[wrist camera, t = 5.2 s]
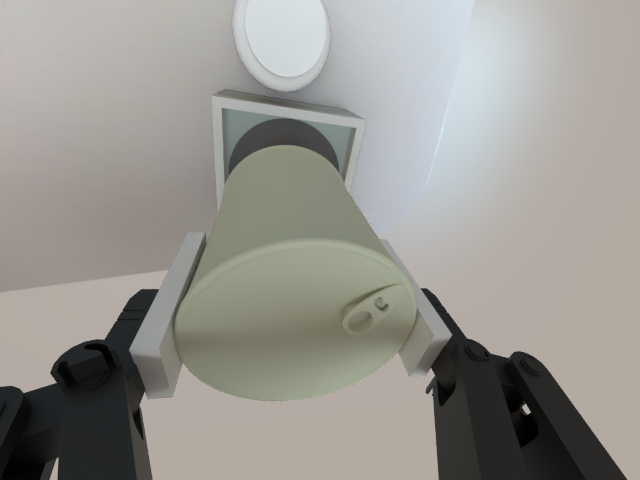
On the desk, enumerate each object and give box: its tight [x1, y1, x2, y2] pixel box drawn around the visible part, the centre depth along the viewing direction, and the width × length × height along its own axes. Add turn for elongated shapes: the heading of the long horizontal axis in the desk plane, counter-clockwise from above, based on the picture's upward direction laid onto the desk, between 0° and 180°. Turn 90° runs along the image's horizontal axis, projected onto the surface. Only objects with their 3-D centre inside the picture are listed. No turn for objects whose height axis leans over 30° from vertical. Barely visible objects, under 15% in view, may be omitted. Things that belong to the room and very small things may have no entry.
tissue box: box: [211, 90, 366, 214], centre depth 28 cm, size 13×13×8 cm
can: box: [174, 145, 417, 401], centre depth 14 cm, size 9×9×12 cm
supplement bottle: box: [232, 0, 331, 92], centre depth 20 cm, size 7×7×13 cm
